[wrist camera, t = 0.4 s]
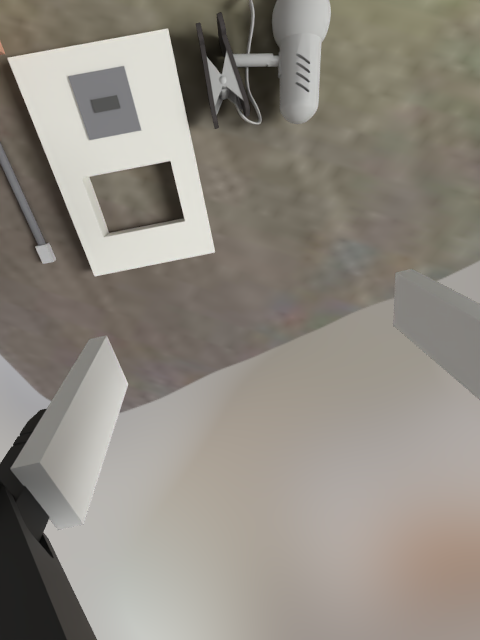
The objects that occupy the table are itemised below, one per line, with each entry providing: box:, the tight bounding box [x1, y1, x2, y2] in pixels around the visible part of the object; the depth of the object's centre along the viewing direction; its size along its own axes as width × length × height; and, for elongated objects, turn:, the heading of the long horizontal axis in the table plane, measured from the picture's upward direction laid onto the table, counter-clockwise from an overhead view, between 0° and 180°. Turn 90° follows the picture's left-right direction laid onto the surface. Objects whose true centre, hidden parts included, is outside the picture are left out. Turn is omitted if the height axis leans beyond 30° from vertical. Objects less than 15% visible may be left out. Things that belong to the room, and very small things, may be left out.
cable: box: [0, 143, 56, 264], centre depth 33 cm, size 16×1×1 cm, turn 10°
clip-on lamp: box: [196, 0, 331, 129], centre depth 28 cm, size 12×6×18 cm
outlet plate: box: [8, 29, 215, 276], centre depth 33 cm, size 20×14×3 cm
